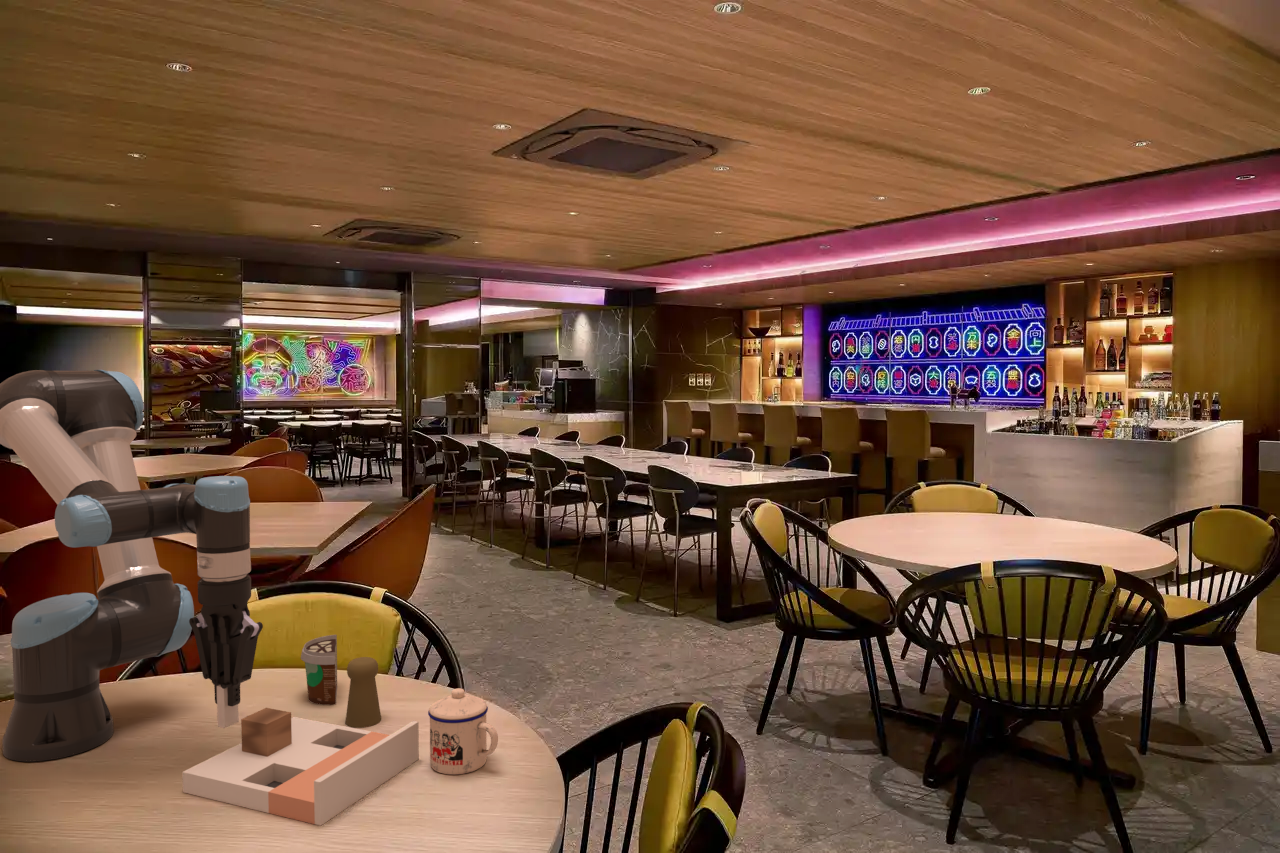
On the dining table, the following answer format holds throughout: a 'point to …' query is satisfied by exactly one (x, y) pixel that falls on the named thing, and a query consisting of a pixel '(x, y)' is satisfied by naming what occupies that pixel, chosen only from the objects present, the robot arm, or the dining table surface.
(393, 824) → the dining table surface
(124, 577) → the robot arm
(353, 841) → the dining table surface
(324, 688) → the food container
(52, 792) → the dining table surface
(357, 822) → the dining table surface
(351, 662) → the cork
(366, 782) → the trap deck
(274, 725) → the walnut block
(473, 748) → the teacup with lid
